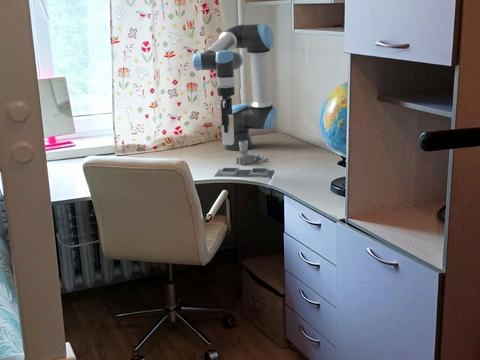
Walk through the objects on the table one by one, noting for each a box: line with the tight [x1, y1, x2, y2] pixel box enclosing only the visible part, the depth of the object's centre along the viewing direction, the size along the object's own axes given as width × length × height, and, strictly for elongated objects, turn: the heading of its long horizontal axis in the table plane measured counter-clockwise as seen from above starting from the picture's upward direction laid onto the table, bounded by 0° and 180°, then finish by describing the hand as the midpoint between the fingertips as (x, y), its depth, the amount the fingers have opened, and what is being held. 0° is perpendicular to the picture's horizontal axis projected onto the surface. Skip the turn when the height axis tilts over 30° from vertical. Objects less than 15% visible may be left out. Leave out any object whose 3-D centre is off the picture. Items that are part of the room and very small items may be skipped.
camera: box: [235, 141, 270, 166], centre depth 310 cm, size 9×12×15 cm
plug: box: [220, 114, 234, 146], centre depth 287 cm, size 4×5×13 cm
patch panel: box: [213, 167, 275, 180], centre depth 292 cm, size 12×26×2 cm, turn 79°
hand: (228, 137), depth 289 cm, fingers closed on plug, 4 cm apart
